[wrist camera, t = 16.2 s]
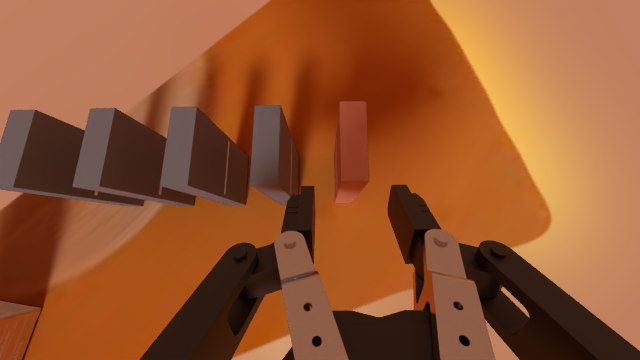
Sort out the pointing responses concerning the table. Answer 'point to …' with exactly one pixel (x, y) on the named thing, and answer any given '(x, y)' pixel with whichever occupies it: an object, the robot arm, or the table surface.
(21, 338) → the small box
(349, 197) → the domino
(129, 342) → the table surface
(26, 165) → the domino
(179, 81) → the table surface
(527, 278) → the robot arm
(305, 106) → the table surface
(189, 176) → the domino
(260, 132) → the domino
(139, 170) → the domino
